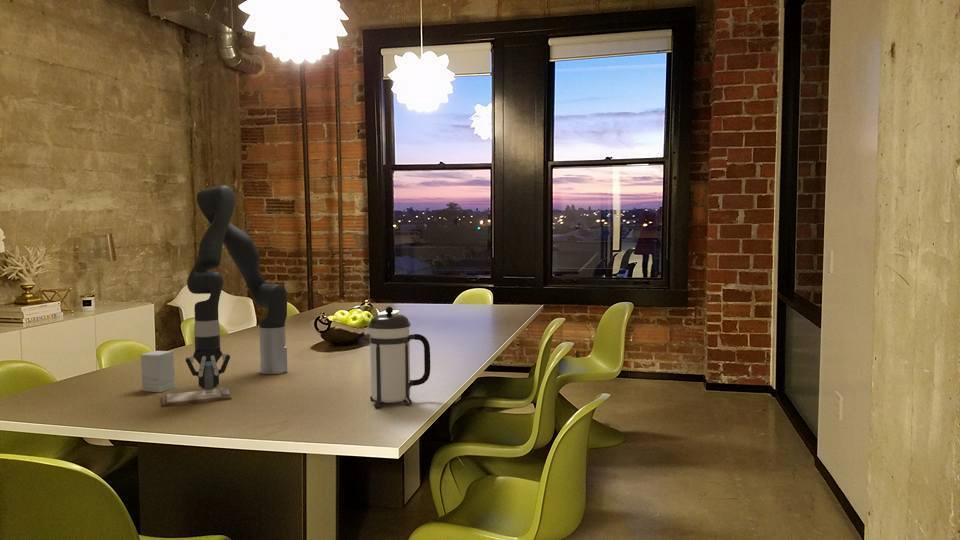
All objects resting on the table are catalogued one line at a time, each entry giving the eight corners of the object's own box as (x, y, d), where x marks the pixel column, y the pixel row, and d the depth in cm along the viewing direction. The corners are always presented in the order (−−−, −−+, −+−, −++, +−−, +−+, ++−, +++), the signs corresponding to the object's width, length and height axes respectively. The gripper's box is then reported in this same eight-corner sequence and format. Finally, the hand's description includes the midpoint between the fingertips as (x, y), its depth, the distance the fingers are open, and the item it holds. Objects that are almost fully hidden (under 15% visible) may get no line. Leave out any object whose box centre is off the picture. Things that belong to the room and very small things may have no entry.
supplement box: (175, 387, 232) (174, 351, 231) (159, 392, 225) (157, 355, 224) (158, 386, 234) (157, 350, 233) (141, 391, 227) (140, 354, 226)
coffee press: (397, 412, 199) (395, 311, 197) (356, 405, 207) (354, 307, 205) (432, 399, 214) (430, 304, 212) (392, 392, 222) (390, 301, 220)
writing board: (227, 390, 228) (227, 385, 227) (231, 399, 216) (231, 394, 216) (162, 397, 219) (161, 392, 219) (161, 406, 207) (161, 402, 207)
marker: (214, 390, 220) (213, 359, 219) (215, 393, 217) (214, 360, 216) (202, 392, 218) (201, 359, 218) (203, 394, 215) (202, 362, 214)
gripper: (229, 330, 223) (231, 382, 224) (182, 333, 217) (184, 387, 218) (231, 334, 216) (233, 387, 217) (183, 337, 210) (185, 392, 211)
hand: (208, 387), depth 217 cm, fingers closed on marker, 3 cm apart
